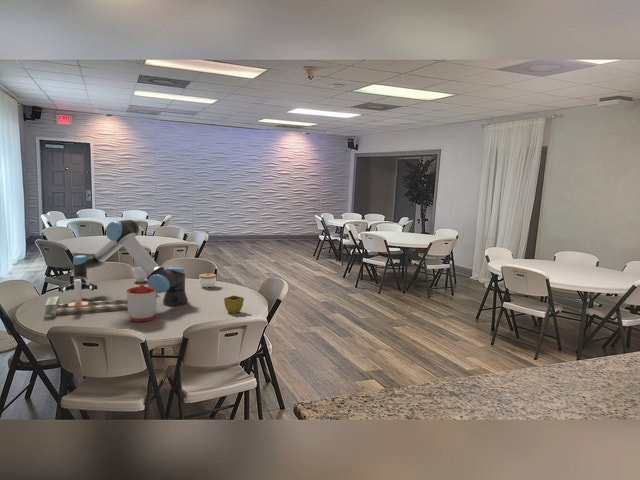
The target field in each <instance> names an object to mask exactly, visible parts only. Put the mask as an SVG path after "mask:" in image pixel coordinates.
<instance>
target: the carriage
mask: <svg viewBox="0 0 640 480" xmlns="http://www.w3.org/2000/svg"><path fill="white" fill-rule="evenodd" d="M73 280H74V279H73ZM73 291H74V301H69V302H68V303H67V304H68V308H82V307H88V302H89V301H88V300H85V301H84V300H82V297H83V296H82V294H83V293H82V290H81V279H76V280H74V290H73Z"/></svg>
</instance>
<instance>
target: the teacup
mask: <svg viewBox="0 0 640 480" xmlns="http://www.w3.org/2000/svg"><path fill="white" fill-rule="evenodd" d="M131 270H132V275H133V278H134V280H136V282H137V283H144V282H145V280H147V274H146V273H145V272H144V271H143V270H142V268H141V267H140V266H136V267H132V268H131Z"/></svg>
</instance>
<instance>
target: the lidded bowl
mask: <svg viewBox="0 0 640 480" xmlns="http://www.w3.org/2000/svg"><path fill="white" fill-rule="evenodd" d="M198 280H199V285H201V287H202V288H203V287H212V288H213V287H214V286H215V285H216V283H217V274H215V273H211V272H210V273H209V272H206V273H205V272H204V273H200V274H199V275H198Z"/></svg>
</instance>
